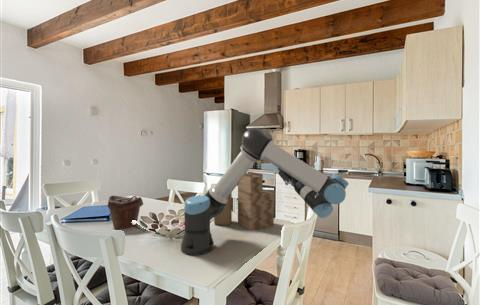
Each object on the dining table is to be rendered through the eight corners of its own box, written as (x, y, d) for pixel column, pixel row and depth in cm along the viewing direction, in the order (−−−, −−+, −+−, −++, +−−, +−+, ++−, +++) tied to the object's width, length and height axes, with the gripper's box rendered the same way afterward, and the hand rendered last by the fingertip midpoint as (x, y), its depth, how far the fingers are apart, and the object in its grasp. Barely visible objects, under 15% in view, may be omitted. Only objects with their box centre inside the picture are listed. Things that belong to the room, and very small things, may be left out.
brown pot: (148, 224, 149) (147, 195, 149) (112, 232, 136) (111, 200, 136) (137, 218, 163) (136, 191, 162) (103, 225, 149) (103, 196, 149)
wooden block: (216, 220, 159) (216, 189, 158) (231, 220, 158) (231, 189, 158) (213, 225, 149) (213, 192, 148) (230, 225, 149) (230, 192, 148)
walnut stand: (250, 229, 140) (250, 174, 140) (237, 222, 154) (237, 172, 154) (273, 225, 148) (273, 173, 147) (259, 218, 162) (259, 171, 161)
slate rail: (288, 173, 126) (288, 166, 126) (261, 169, 149) (261, 163, 149) (293, 173, 128) (293, 166, 127) (265, 169, 151) (265, 163, 151)
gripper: (289, 198, 115) (265, 169, 133) (315, 195, 123) (289, 168, 141) (294, 185, 112) (269, 157, 130) (321, 182, 119) (294, 157, 137)
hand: (279, 163), depth 135 cm, fingers closed on slate rail, 3 cm apart
